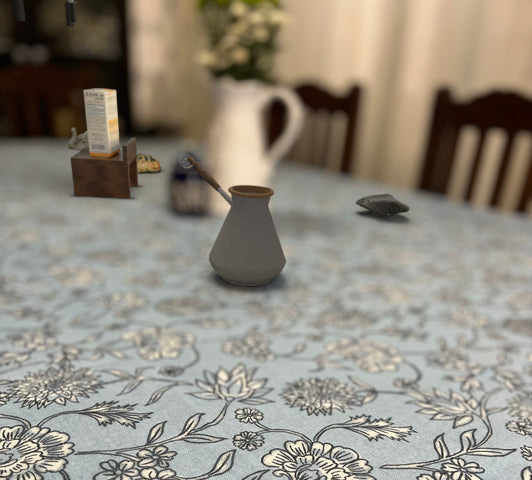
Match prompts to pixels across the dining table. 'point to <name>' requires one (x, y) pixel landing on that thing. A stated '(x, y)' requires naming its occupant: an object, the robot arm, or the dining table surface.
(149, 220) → the dining table surface
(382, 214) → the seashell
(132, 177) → the dark wooden step block
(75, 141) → the figurine
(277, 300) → the dining table surface
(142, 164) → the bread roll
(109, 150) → the supplement box
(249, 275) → the coffee pot
